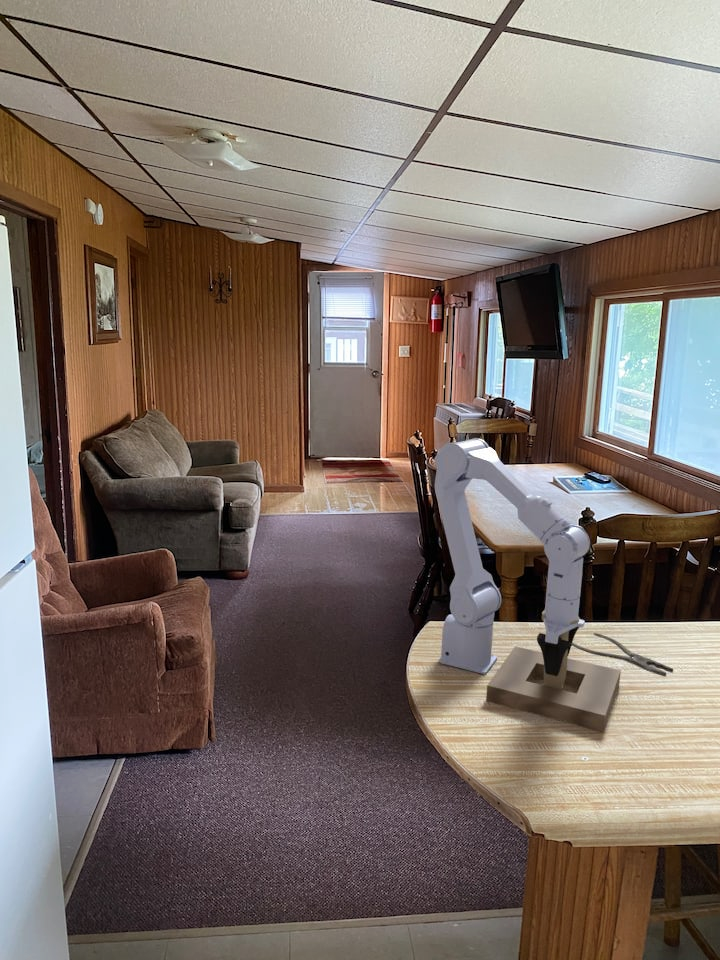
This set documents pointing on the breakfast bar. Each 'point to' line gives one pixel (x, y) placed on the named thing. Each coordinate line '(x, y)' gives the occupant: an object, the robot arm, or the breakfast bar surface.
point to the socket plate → (573, 708)
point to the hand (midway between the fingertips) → (556, 665)
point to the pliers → (636, 658)
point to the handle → (559, 680)
